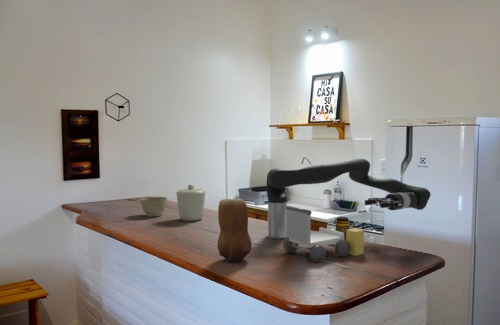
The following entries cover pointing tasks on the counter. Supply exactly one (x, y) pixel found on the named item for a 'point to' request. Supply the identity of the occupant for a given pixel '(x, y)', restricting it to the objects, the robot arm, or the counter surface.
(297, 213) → the trolley
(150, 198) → the planter bowl
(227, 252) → the butternut squash
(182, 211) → the canister
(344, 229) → the condiment
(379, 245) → the counter surface
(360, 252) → the yellow rectangular block
